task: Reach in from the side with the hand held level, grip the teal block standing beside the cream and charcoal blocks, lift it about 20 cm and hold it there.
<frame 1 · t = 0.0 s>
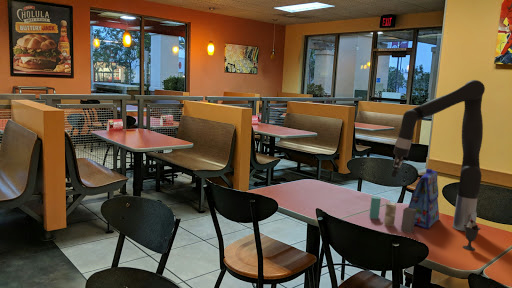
hand: (394, 175, 221), 22 cm above the table, tool pointing down, fingers open, 8 cm apart
charcoal block: (407, 230, 201), on the table
teal block: (373, 217, 219), on the table
lunch bag: (421, 221, 217), on the table
cream block: (388, 224, 209), on the table
sundae: (468, 248, 184), on the table
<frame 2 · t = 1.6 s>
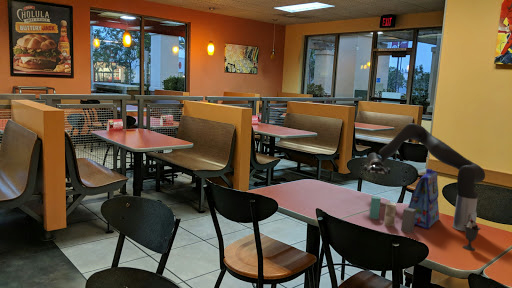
hand: (377, 172, 226), 22 cm above the table, tool horizontal, fingers open, 8 cm apart
nothing on the table moved.
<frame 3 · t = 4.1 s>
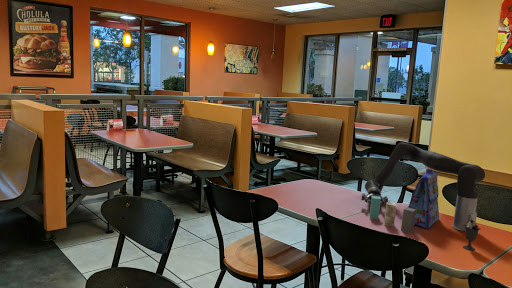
hand: (374, 201, 224), 6 cm above the table, tool horizontal, fingers open, 8 cm apart
nothing on the table moved.
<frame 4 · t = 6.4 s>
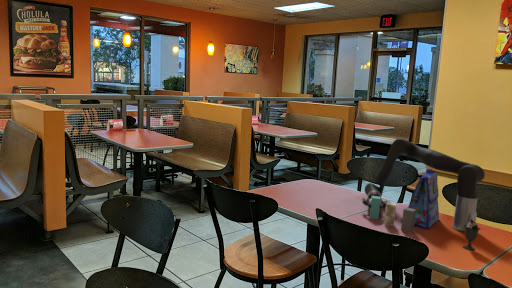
hand: (375, 206, 215), 7 cm above the table, tool horizontal, fingers closed on teal block, 4 cm apart
teal block: (373, 217, 219), on the table, touching gripper
everything else where it was.
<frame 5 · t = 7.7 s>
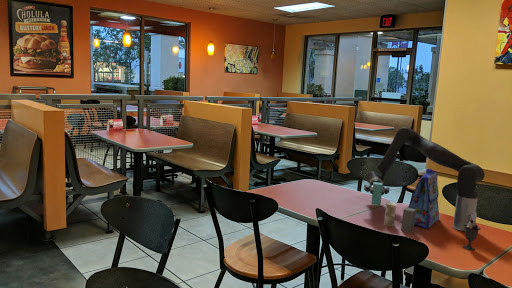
hand: (377, 192, 214), 14 cm above the table, tool horizontal, fingers closed on teal block, 4 cm apart
teal block: (375, 203, 217), point 8 cm above the table, touching gripper
everything else where it was.
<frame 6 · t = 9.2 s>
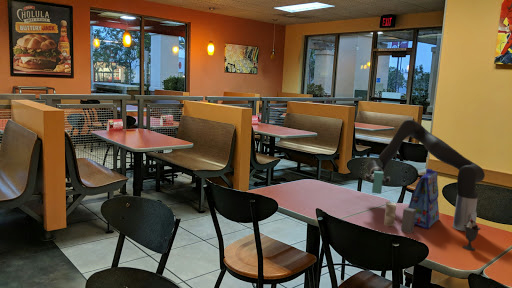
hand: (378, 181, 214), 20 cm above the table, tool horizontal, fingers closed on teal block, 4 cm apart
teal block: (376, 192, 218), point 14 cm above the table, touching gripper
everything else where it was.
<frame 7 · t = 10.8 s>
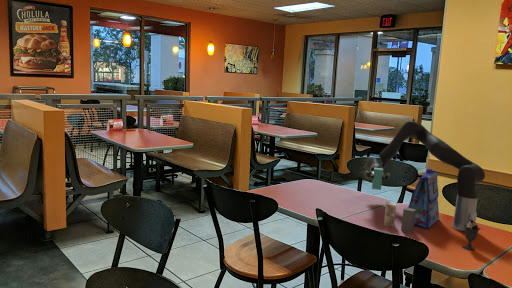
hand: (377, 177, 219), 21 cm above the table, tool horizontal, fingers closed on teal block, 4 cm apart
teal block: (376, 188, 222), point 14 cm above the table, touching gripper
everything else where it was.
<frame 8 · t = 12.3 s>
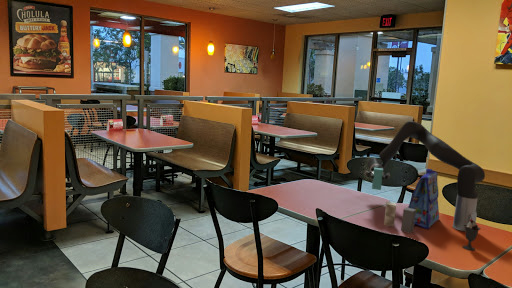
hand: (377, 177, 219), 21 cm above the table, tool horizontal, fingers closed on teal block, 4 cm apart
teal block: (376, 188, 222), point 14 cm above the table, touching gripper
everything else where it was.
at the end: the gripper is holding teal block; teal block point 14.4 cm above the table; cream block moved 0.0 cm from its start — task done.
